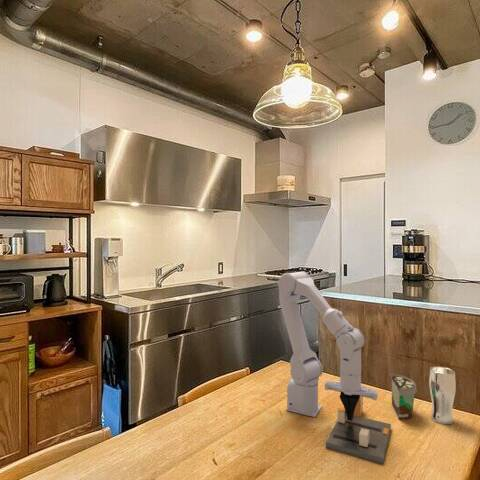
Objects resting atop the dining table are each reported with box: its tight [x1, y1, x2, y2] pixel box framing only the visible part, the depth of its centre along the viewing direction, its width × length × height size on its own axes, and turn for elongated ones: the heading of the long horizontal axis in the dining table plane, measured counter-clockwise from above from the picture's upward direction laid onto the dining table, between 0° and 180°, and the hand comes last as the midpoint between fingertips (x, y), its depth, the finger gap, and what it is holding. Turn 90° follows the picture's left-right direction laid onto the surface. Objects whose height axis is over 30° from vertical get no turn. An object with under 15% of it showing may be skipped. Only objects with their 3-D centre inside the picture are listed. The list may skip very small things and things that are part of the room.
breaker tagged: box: [336, 405, 347, 423], centre depth 104 cm, size 2×3×3 cm, turn 151°
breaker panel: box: [325, 415, 392, 465], centre depth 98 cm, size 14×18×2 cm
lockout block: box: [354, 396, 364, 417], centre depth 112 cm, size 4×4×6 cm
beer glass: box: [428, 366, 457, 425], centre depth 108 cm, size 7×7×15 cm
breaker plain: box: [359, 428, 369, 447], centre depth 92 cm, size 2×3×3 cm, turn 151°
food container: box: [390, 373, 418, 421], centre depth 112 cm, size 12×6×10 cm, turn 168°
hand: (350, 418), depth 103 cm, fingers closed
